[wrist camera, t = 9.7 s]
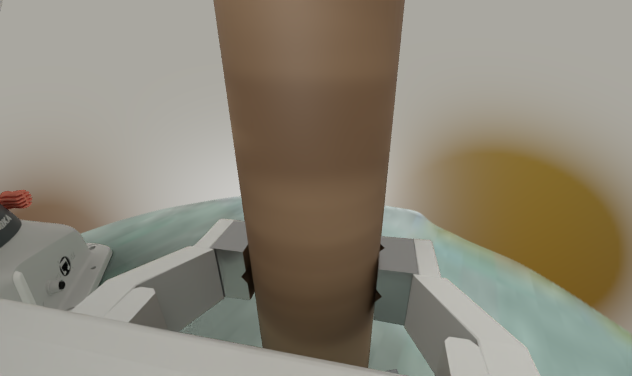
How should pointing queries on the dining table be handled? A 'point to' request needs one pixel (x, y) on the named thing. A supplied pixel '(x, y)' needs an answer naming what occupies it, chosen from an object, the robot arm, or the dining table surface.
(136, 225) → the dining table surface
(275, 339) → the dowel
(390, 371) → the tray
